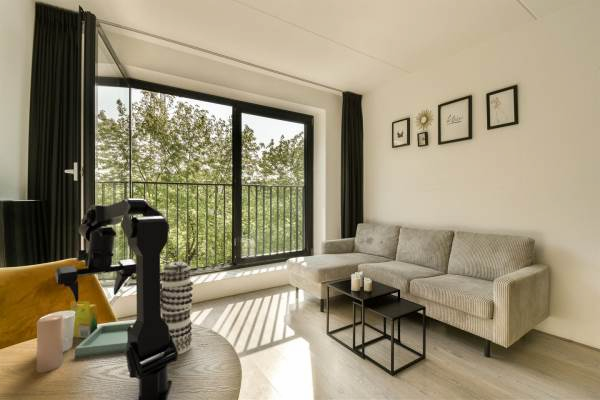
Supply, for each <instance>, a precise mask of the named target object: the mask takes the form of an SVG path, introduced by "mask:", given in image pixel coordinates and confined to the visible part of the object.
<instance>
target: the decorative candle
mask: <svg viewBox="0 0 600 400" xmlns="http://www.w3.org/2000/svg"><path fill="white" fill-rule="evenodd" d="M191 268H192V267H191V266H190V265H188V263H187V262H185V261H175V262H174V261H173V262H169V263H166V264H165V265H164V268H161V269H160V272H162V278H161V279H162V280H161V282H160V293H161V313H162V314H161V317H162V319H163V320H164V321H165V322H166V324H167V325H168V327H169V333H170V335H171V338H172V340H173V342H174V345H175V347H176V349H177V352H178V355H181V354H184V353H186V352H188V351H189V350H190V349H191V348H192V340H193V338H192V336H193V334H192V329H193V328H192V325H193V322H192V320H191V308H192V302H193V299H192V297H193V294H192V293H191V292H192V291H193V288H194V287H192V286H193V285H194V282H193V281H191ZM163 353H164V352H162V353H161V354H163Z"/></svg>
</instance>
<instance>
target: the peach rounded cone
mask: <svg viewBox="0 0 600 400" xmlns="http://www.w3.org/2000/svg"><path fill="white" fill-rule="evenodd" d="M41 318H42V317H41ZM63 353H64V352H63V316H62V315H54V316H49V317H45V318H42V319H40V318H39V319H38V320H37V321H36V372H38V373H48V372H51V371H53V370H55V369H58V368H59V367H61V366H62V365H63V362H64V361H63V359H64V358H63V355H64V354H63Z"/></svg>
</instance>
